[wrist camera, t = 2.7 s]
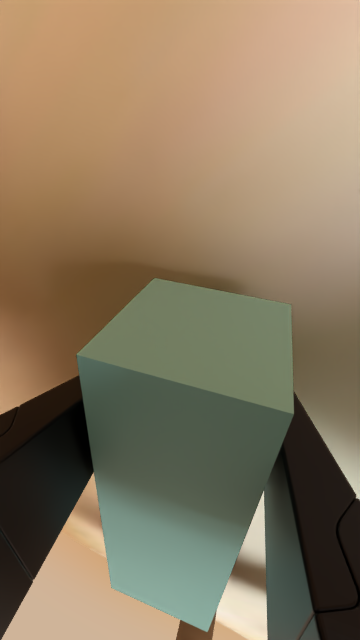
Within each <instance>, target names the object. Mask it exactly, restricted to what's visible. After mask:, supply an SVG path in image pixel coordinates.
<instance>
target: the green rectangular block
mask: <svg viewBox="0 0 360 640" xmlns="http://www.w3.org/2000/svg"><path fill="white" fill-rule="evenodd" d="M76 356H77V363H78V370H79V376H80V383H81V389H82V396H83V403H84V409H85V416H86V423H87V429H88V436H89V442H90V449H91V456H92V462H93V469H94V476H95V482H96V489H97V495H98V502H99V509H100V515H101V522H102V528H103V535H104V542H105V548H106V555H107V561H108V568H109V574H110V581H111V588H113V589H115V590H117V591H120V592H121V593H124V594H126V595H128V596H130V597H132V598H134V599H137V600H139V601H141V602H143V603H145V604H147V605H150V606H152V607H154V608H156V609H158V610H160V611H163V612H165V613H167V614H169V615H171V616H174V617H176V618H178V619H180V620H182V621H184V622H186V623H189V624H191V625H193V626H195V627H197V628H199V629H201V630H204V631H206V632H208V630H209V627H210V625H211V622H212V620H213V617H214V615H215V612H216V610H217V607H218V605H219V602H220V599H221V597H222V594H223V592H224V589H225V587H226V584H227V582H228V579H229V577H230V574H231V572H232V569H233V567H234V564H235V562H236V559H237V557H238V554H239V551H240V549H241V546H242V544H243V541H244V539H245V536H246V534H247V531H248V529H249V526H250V524H251V521H252V519H253V516H254V514H255V511H256V509H257V506H258V504H259V501H260V498H261V496H262V493H263V491H264V488H265V486H266V483H267V481H268V478H269V476H270V473H271V471H272V468H273V466H274V463H275V461H276V458H277V456H278V453H279V450H280V448H281V445H282V443H283V440H284V438H285V435H286V433H287V430H288V428H289V425H290V423H291V420H292V418H293V415H294V397H293V356H292V315H291V304H287V303H282V302H277V301H271V300H266V299H261V298H256V297H251V296H246V295H240V294H235V293H230V292H225V291H220V290H214V289H209V288H204V287H199V286H194V285H189V284H183V283H178V282H173V281H168V280H163V279H158V278H154V279H153V280H152V281H151V282H150V283H149V284H148V285H147V286H146V287H145V288H144V289H143V290H142V291H140V292H139V293H138V294H137V295H136V296H135V297H134V298H133V299H132V300H131V301H130V302H129V303H128V304H127V305H126V306H125V307H124V308H123V309H122V310H121V311H120V312H119V313H118V314H117V315H116V316H115V317H114V318H113V319H112V320H111V321H110V322H109V323H108V324H107V325H106V326H105V327H104V328H103V329H102V330H101V331H100V332H99V333H98V334H97V335H96V336H95V337H94V338H93V339H92V340H91V341H90V342H89V343H88V344H87V345H86V346H85V347H83V348H82V349H81V350H80V351H79V352H78V353H77V354H76Z"/></svg>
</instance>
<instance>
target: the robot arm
mask: <svg viewBox="0 0 360 640" xmlns="http://www.w3.org/2000/svg"><path fill="white" fill-rule="evenodd" d="M293 397H294V415H293V418H292V420H291V423H290V425H289V428H288V430H287V433H286V435H285V438H284V440H283V443H282V445H281V448H280V450H279V453H278V456H277V458H276V461H275V463H274V466H273V468H272V471H271V473H270V476H269V478H268V481H267V483H266V486H265V488H264V506H265V547H266V589H267V631H268V640H360V500H359V499H357V498H356V494H355V492H354V490H353V489H352V487H351V485H350V484H349V482H348V480H347V479H346V477H345V475H344V474H343V472H342V470H341V469H340V467H339V465H338V464H337V462H336V461H335V459H334V457H333V456H332V454H331V452H330V451H329V449H328V447H327V446H326V444H325V442H324V441H323V439H322V437H321V436H320V434H319V432H318V431H317V429H316V427H315V426H314V424H313V422H312V421H311V419H310V417H309V416H308V414H307V412H306V411H305V409H304V407H303V406H302V404H301V402H300V401H299V399H298V397H297V396H296V394H295V392H294V391H293ZM93 472H94V469H93V462H92V456H91V449H90V442H89V436H88V429H87V423H86V416H85V409H84V403H83V396H82V389H81V383H80V376H77V377H75V378H73V379H71V380H69V381H67V382H65V383H63V384H61V385H59V386H57V387H55V388H53V389H51V390H49V391H47V392H45V393H43V394H41V395H39V396H37V397H35V398H33V399H31V400H29V401H27V402H25V403H23V404H21V405H20V406H19V407H15V408H13V409H11V410H9V411H7V412H5V413H3V414H1V415H0V640H1V639H2V637H3V635H4V634H5V632H6V630H7V628H8V626H9V624H10V623H11V621H12V619H13V617H14V615H15V614H16V612H17V610H18V608H19V606H20V605H21V602H22V601H23V599H24V597H25V596H26V594H27V592H28V590H29V588H30V587H31V585H32V583H33V579H35V577H36V575H37V573H38V572H39V570H40V568H41V566H42V564H43V562H44V561H45V559H46V557H47V555H48V554H49V552H50V550H51V548H52V546H53V544H54V543H55V541H56V539H57V537H58V535H59V534H60V532H61V530H62V528H63V526H64V525H65V523H66V521H67V519H68V517H69V516H70V514H71V512H72V510H73V508H74V507H75V505H76V503H77V501H78V499H79V498H80V496H81V494H82V492H83V490H84V488H85V487H86V485H87V483H88V481H89V479H90V478H91V476H92V474H93Z"/></svg>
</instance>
